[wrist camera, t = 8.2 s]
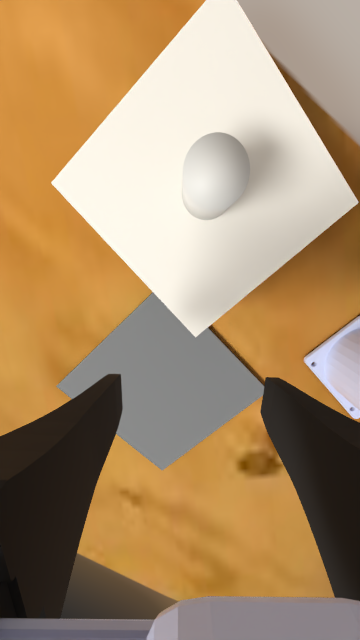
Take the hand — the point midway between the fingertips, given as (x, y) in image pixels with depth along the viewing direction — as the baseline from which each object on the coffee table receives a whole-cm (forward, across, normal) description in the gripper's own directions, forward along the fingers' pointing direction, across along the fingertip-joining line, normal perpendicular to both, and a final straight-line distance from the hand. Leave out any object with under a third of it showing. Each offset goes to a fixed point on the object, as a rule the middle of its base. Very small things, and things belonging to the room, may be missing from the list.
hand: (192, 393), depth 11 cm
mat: (+10, +2, +6) cm, 12 cm away
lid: (+6, -1, -10) cm, 12 cm away
